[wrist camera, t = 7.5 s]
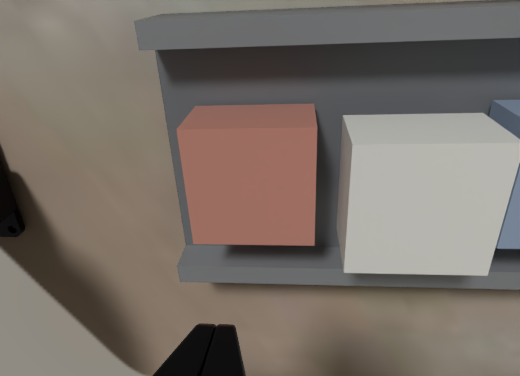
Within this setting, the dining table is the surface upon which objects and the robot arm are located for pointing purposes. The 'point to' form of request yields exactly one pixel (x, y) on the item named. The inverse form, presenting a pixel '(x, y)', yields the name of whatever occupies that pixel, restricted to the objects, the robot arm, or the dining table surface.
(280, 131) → the key red
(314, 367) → the dining table surface
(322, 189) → the panel
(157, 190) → the dining table surface
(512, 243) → the blue-grey square block
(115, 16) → the dining table surface
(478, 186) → the off-white square block
